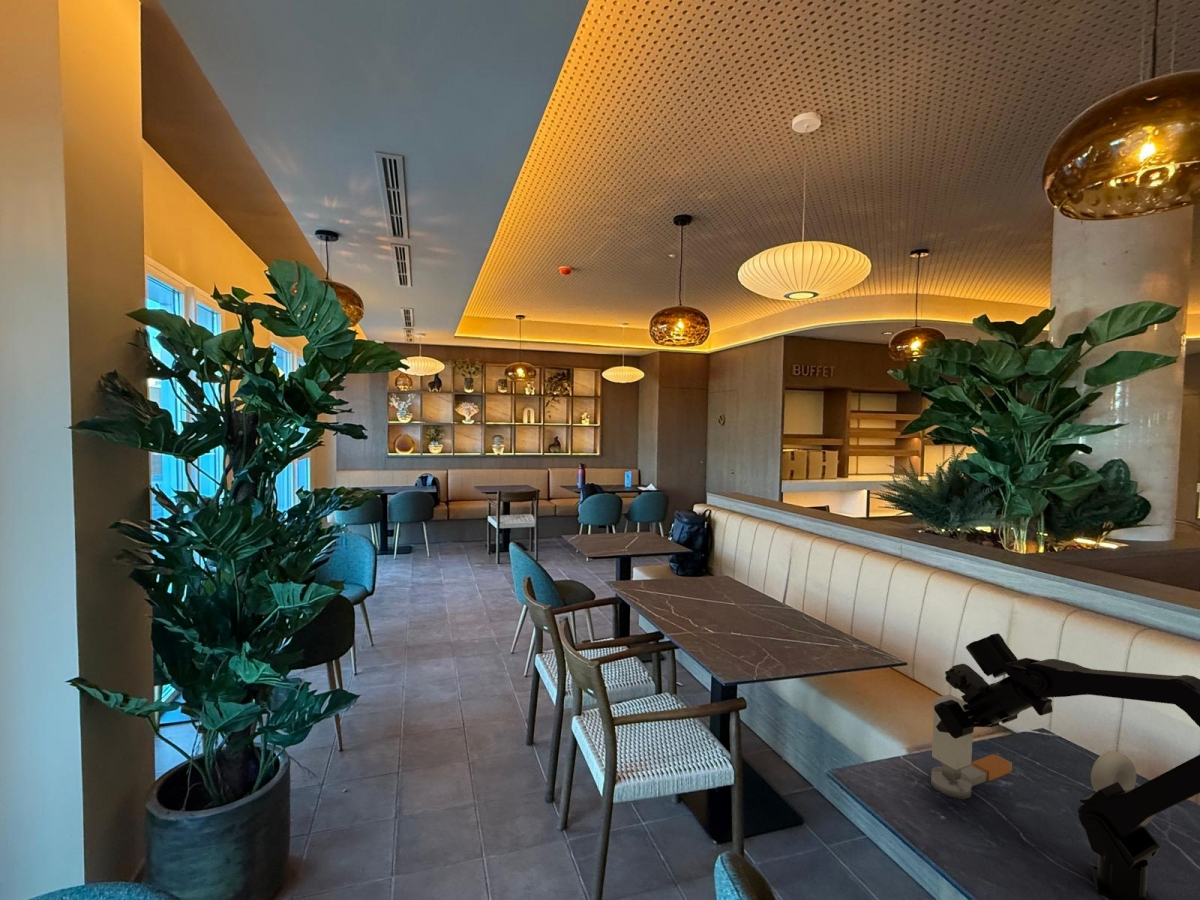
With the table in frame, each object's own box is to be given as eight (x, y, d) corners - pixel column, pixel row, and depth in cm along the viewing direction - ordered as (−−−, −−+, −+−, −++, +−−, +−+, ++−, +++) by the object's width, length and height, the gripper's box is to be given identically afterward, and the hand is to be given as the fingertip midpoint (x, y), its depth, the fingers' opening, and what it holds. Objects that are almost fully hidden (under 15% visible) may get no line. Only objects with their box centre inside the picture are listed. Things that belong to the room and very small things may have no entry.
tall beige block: (971, 764, 112) (973, 704, 112) (955, 770, 110) (958, 709, 110) (947, 751, 117) (949, 694, 117) (931, 756, 115) (934, 698, 115)
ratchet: (957, 803, 109) (958, 778, 109) (923, 782, 115) (924, 759, 115) (1021, 776, 118) (1022, 753, 118) (987, 758, 125) (988, 736, 125)
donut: (1104, 810, 108) (1107, 760, 108) (1085, 798, 111) (1087, 750, 111) (1139, 802, 111) (1142, 754, 110) (1119, 791, 114) (1122, 744, 114)
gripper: (1003, 651, 113) (948, 681, 124) (945, 664, 106) (892, 695, 116) (1045, 705, 106) (984, 733, 117) (987, 724, 99) (926, 751, 109)
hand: (946, 726), depth 115 cm, fingers closed on tall beige block, 5 cm apart
